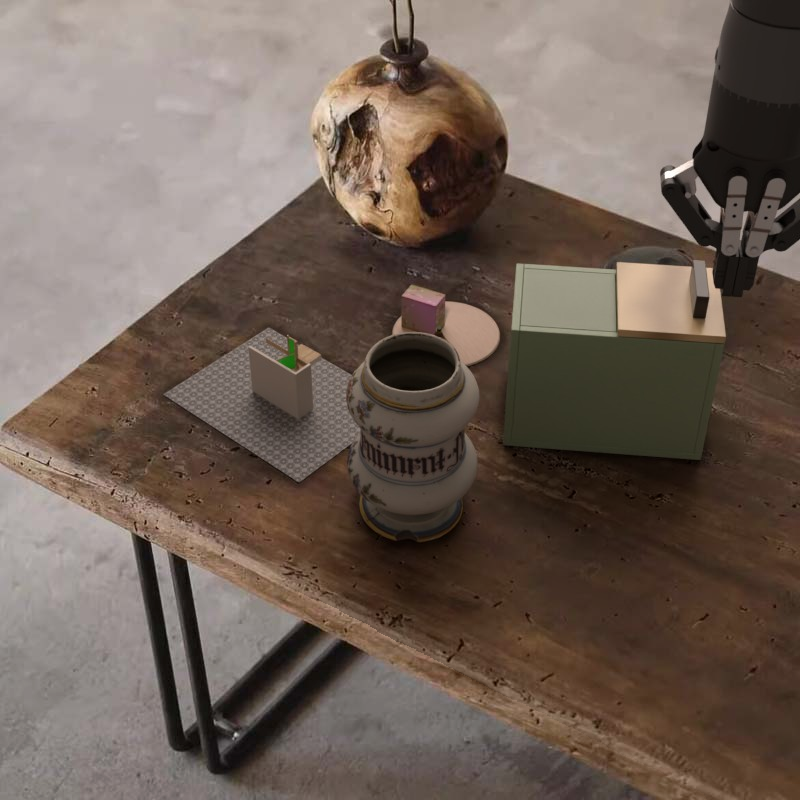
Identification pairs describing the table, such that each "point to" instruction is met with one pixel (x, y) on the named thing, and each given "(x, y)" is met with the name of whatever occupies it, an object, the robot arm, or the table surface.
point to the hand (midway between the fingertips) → (730, 290)
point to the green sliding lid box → (600, 373)
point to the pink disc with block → (449, 323)
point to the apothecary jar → (412, 436)
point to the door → (669, 302)
